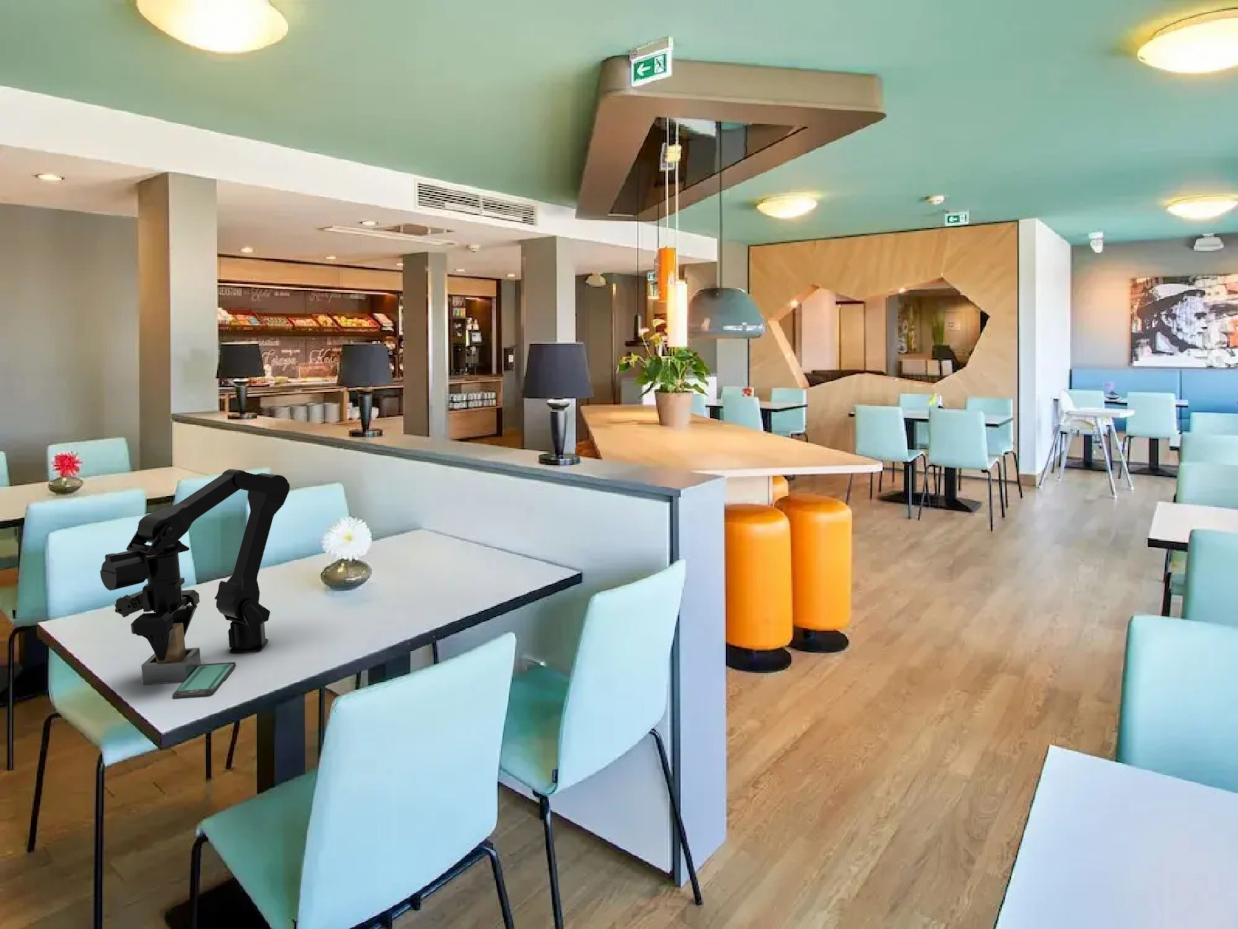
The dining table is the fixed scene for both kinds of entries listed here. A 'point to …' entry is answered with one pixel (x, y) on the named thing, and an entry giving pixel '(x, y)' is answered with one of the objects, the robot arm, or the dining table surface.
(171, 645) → the rail post
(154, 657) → the gray open box
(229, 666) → the smartphone
